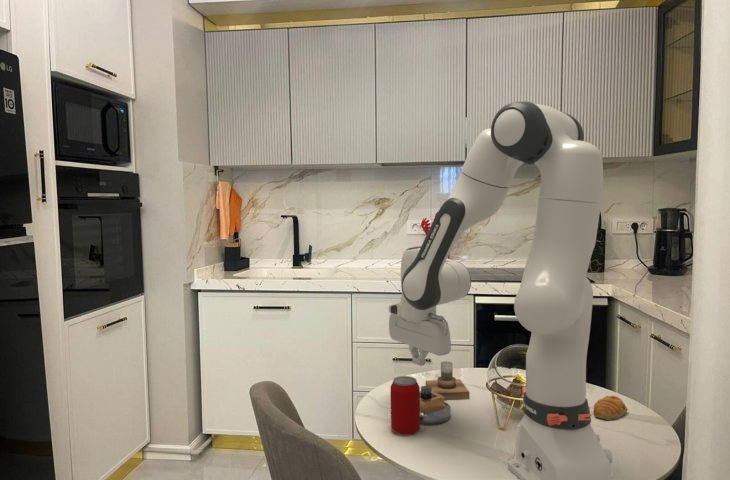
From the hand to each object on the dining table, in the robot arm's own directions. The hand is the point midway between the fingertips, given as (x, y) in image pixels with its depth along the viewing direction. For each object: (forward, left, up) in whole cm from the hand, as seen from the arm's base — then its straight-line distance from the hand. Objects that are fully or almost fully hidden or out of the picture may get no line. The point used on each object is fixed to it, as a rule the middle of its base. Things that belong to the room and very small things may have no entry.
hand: (418, 364), depth 126 cm
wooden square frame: (-3, -1, -10) cm, 11 cm away
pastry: (-6, -47, -13) cm, 49 cm away
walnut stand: (+12, -10, -12) cm, 20 cm away
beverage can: (-10, +5, -12) cm, 17 cm away
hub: (-2, -1, -12) cm, 13 cm away
